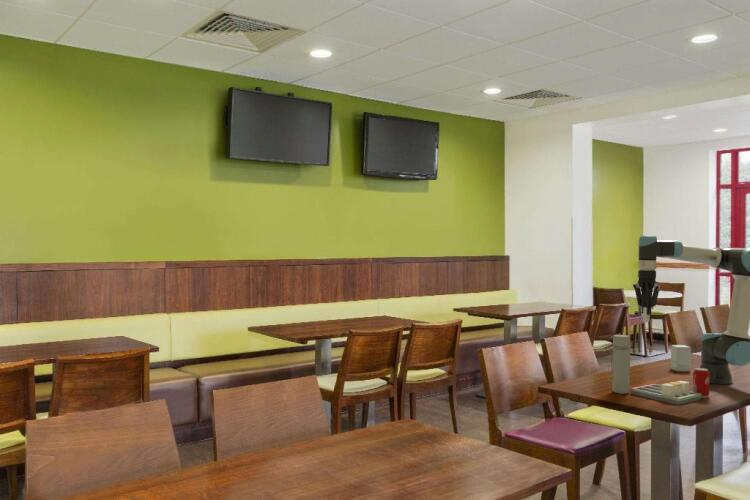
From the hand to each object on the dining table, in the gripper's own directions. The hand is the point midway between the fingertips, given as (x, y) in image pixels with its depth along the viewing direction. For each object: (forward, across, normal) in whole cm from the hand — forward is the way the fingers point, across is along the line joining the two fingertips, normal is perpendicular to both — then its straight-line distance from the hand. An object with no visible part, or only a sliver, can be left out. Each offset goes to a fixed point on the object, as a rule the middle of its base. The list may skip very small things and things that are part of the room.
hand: (646, 321), depth 294 cm
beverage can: (+31, +22, +7) cm, 38 cm away
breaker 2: (+29, +19, -1) cm, 34 cm away
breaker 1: (+29, +19, -12) cm, 36 cm away
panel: (+30, +14, -6) cm, 34 cm away
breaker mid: (+29, +18, -7) cm, 35 cm away
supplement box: (+31, -16, +56) cm, 65 cm away
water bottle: (+31, -2, -17) cm, 35 cm away
